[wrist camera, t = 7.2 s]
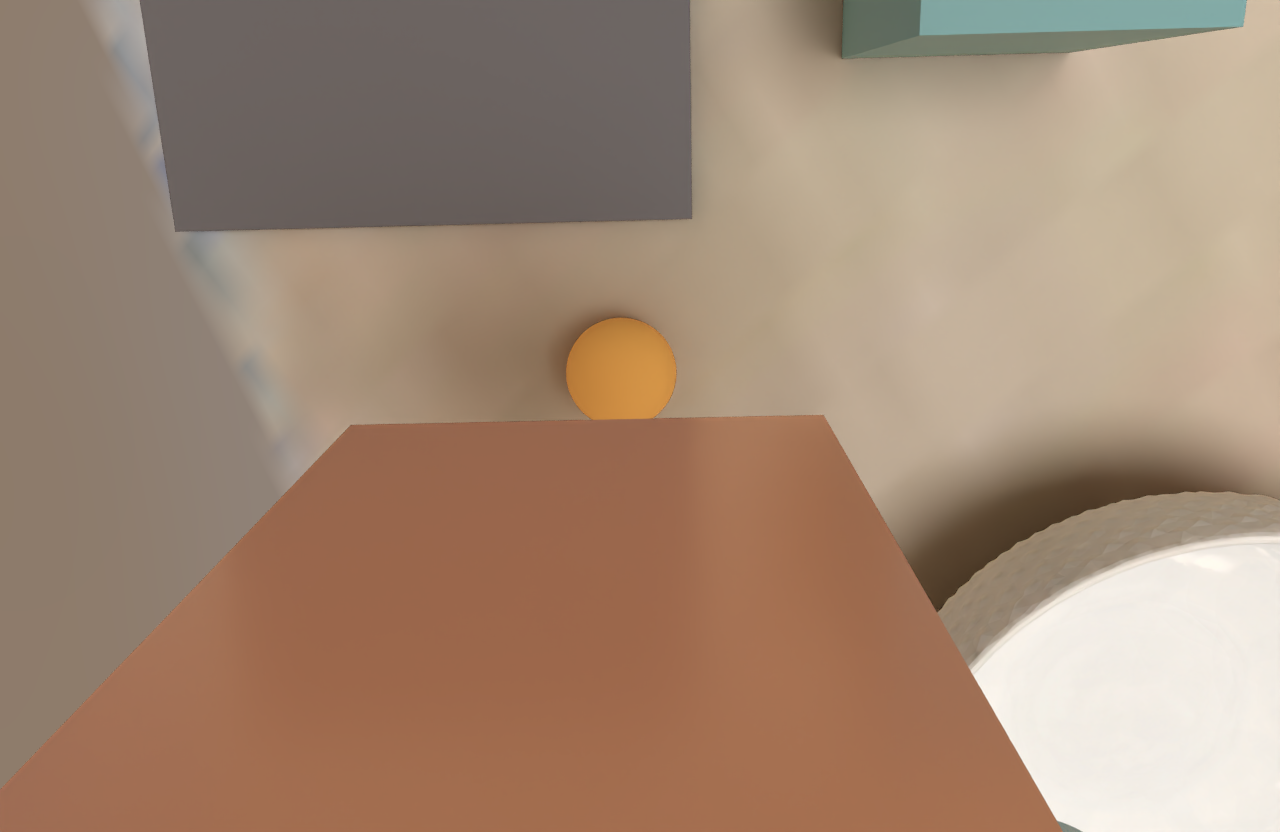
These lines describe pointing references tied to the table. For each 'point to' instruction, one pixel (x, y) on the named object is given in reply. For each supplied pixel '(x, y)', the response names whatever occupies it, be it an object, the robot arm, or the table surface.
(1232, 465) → the table surface
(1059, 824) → the robot arm
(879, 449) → the table surface
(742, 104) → the table surface
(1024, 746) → the cereal bowl
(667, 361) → the orange ball
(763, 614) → the salmon pink cube
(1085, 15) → the seafoam square box
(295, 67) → the charcoal mat
